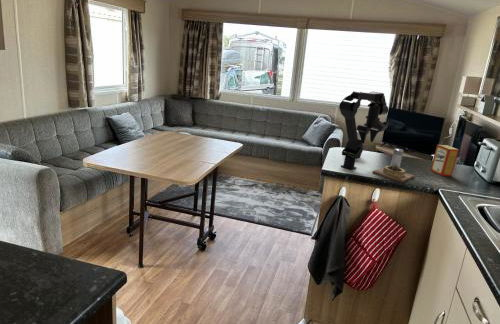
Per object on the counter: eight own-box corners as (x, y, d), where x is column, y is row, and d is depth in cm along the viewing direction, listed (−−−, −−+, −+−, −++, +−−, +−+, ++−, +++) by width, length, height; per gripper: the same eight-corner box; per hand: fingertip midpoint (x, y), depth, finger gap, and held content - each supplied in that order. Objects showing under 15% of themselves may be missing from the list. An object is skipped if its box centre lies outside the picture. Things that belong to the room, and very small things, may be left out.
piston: (397, 175, 191) (403, 151, 187) (388, 173, 193) (393, 149, 189) (398, 173, 195) (404, 149, 191) (389, 171, 197) (394, 148, 193)
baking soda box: (451, 176, 207) (459, 149, 202) (441, 175, 205) (449, 148, 200) (439, 170, 215) (446, 144, 211) (430, 170, 214) (437, 143, 209)
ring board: (401, 182, 183) (403, 175, 182) (372, 173, 194) (373, 166, 193) (413, 177, 195) (415, 171, 194) (385, 168, 205) (386, 162, 204)
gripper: (377, 118, 188) (371, 147, 192) (395, 117, 200) (388, 144, 205) (358, 114, 196) (353, 142, 200) (376, 113, 208) (371, 140, 212)
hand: (367, 142), depth 204 cm, fingers open, 9 cm apart
